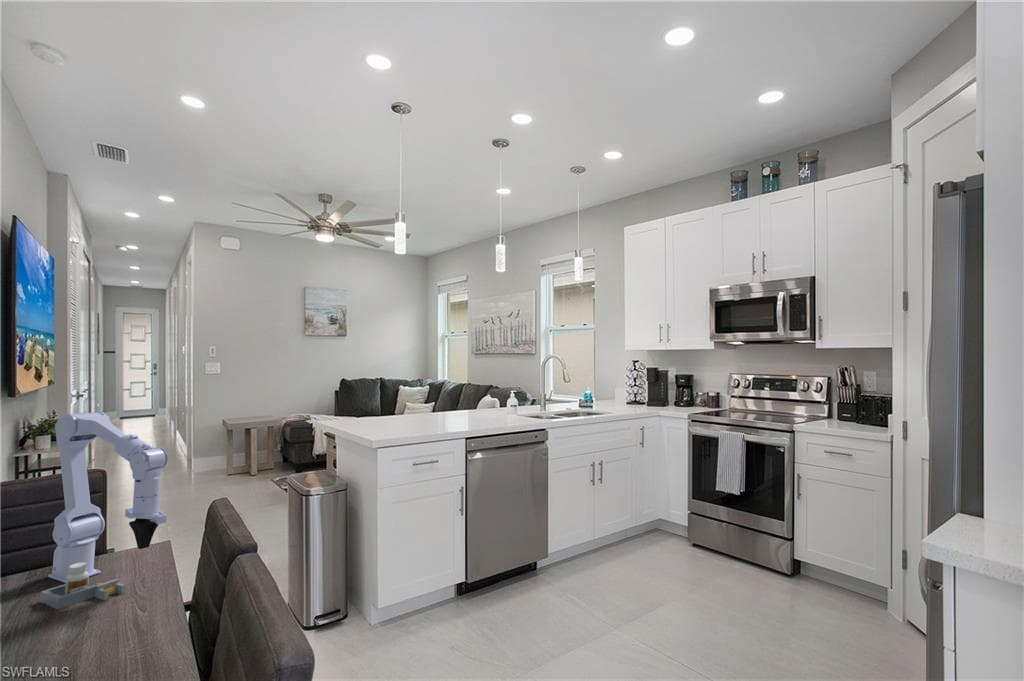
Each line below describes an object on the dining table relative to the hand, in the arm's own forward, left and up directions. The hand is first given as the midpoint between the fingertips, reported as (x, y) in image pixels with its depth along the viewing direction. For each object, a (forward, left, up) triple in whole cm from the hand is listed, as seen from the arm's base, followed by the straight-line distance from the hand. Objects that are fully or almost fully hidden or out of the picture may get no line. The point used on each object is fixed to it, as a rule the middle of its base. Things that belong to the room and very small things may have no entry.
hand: (143, 547), depth 133 cm
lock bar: (-4, -6, -10) cm, 12 cm away
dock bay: (-5, -10, -10) cm, 15 cm away
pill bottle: (-8, -11, -10) cm, 17 cm away
